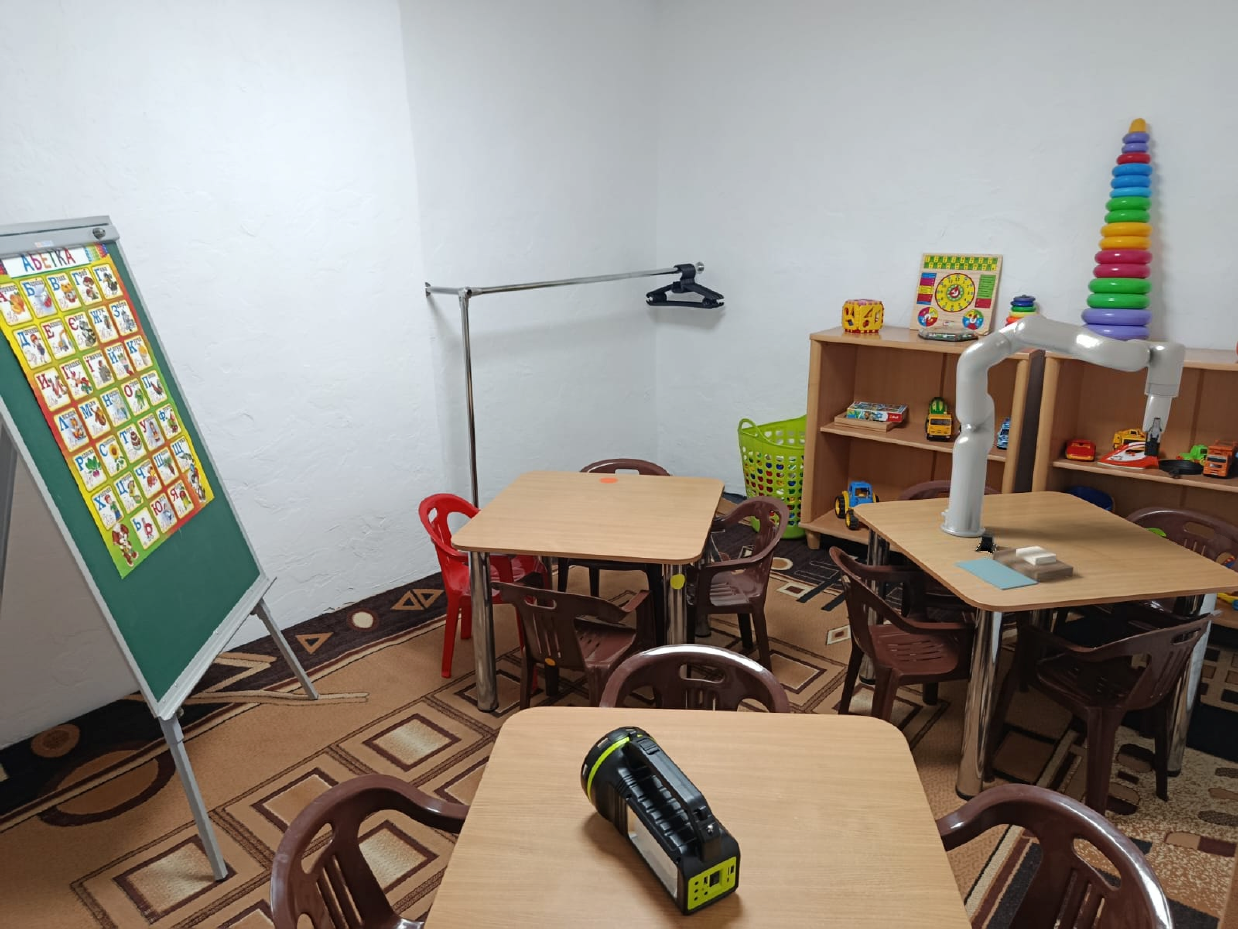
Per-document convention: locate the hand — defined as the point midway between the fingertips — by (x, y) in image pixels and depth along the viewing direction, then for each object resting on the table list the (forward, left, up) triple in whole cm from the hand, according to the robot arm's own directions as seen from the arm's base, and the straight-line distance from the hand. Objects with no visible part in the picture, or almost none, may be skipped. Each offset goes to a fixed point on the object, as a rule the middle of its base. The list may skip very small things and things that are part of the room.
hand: (1151, 451), depth 224 cm
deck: (-4, -31, -31) cm, 44 cm away
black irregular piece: (-20, -32, -32) cm, 50 cm away
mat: (-4, -43, -31) cm, 53 cm away
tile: (-4, -30, -29) cm, 42 cm away
